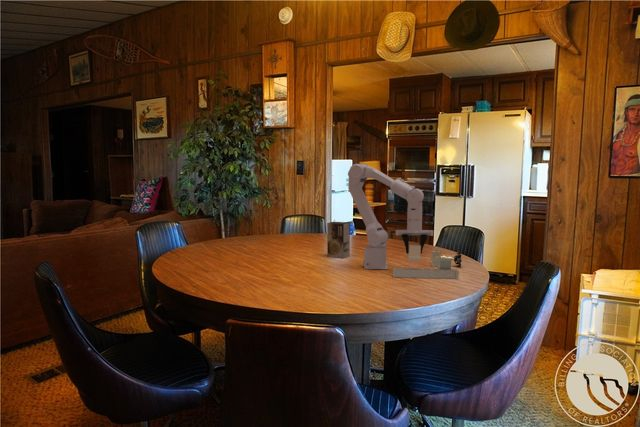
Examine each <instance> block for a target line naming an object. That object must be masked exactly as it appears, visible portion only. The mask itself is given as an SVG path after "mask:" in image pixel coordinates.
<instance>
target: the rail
mask: <svg viewBox="0 0 640 427" xmlns="http://www.w3.org/2000/svg"><path fill="white" fill-rule="evenodd" d="M459 274H460V271H459V269H456V268H452V261H451V260H450V259H446V258H438V267H437V268H431V267H430V268H422V267H421V268H419V267H393V268H392V278H393V279H396V278H405V279H406V278H407V279H408V278H411V279H413V278H414V279H415V278H416V279H455V280H459V276H460V275H459Z"/></svg>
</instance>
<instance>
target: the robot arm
mask: <svg viewBox="0 0 640 427" xmlns="http://www.w3.org/2000/svg"><path fill="white" fill-rule="evenodd" d="M347 176H348V184H347V185H348V191H349V193H350V196H351V197H352V200H353V202H354V203H355V206H356V208H357V210H358V212H359V214H360V216H361V219H362V221H363V223H364V225H365V233H366V237H367V238H366V239H367V243H368V245H366V246H364V248H363V249H364V250H363V255H364V256H363V268H364V269H365V270H388V269H389V268H388V265H387V250H388V249H387V244H386V243H387V242H388V240H389V234H388V231H386V230H385V229H384V228H383V225H382V224H381V223H379V221H378V219H377V217H376V215H375V213H374V211H373V209H372V207H371V205H370V203H369V201H368V198H367V196H366V194H365V192H364V190H363V187H364V184H365V182H366V181H367V179H374V180H376V181H378V182H380V183H382V184H384V185H386V186H387V187H389V188H390V192H392V193H394V194H395V195H397V196H398V197H401V198H402V199H404V200H406V202H407V215H406V216H407V219H406V223H407V224H406V229H395V235H396V236H401V238H402V240H403V241H402V242H403V244H404V246H405V253H406V255H407V254H409V246H408V245H409V243H410V237H409V236H419V237H418V238H419V244H420V245H421V255H422V253H423V249H424V246H425V244H426V242H427V240H428V236H432V237H433V236H434V230H433V229H430V230H428V229H423V200H424V198H425V195H424V192H423V191H422V190H421V189H420V188H415V186H414V185H410V184H408V183H407V182H405V180H404V179H403V178H401V179H399V178H396V179H393V178H392V177H390V176H389V175H387V174H385V173H383V172H382V171H380V170H379V169H377V168H375V167H373V166H371V165H370V166H369V165H368V164H366V163H362V164H361V163H354V164H351V166H350V168H349V170H348V172H347Z"/></svg>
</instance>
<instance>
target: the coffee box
mask: <svg viewBox="0 0 640 427" xmlns="http://www.w3.org/2000/svg"><path fill="white" fill-rule="evenodd" d="M326 224H327V225H326V228H327V229H326V230H327V231H326V236H327V240H326V241H327V242H326V243H327V245H326V246H327V247H326V248H327V257H329V258H337V259H338V258H340V259H346V258H348V257H350V255H351V253H350V251H351V250H350V249H351V247H350V246H351V245H350V244H351V243H350V242H351V241H350V239H351V238H350V237H351V236H350V235H351V234H350V232H351V222H347V221H346V222H344V221H330V222H327V223H326Z"/></svg>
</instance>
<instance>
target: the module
mask: <svg viewBox="0 0 640 427" xmlns="http://www.w3.org/2000/svg"><path fill="white" fill-rule="evenodd" d="M408 246H409V254H407V253H406V255H407V256H406V257H407V260H408V262H409V263H421V262H422V257H421V255H422V254H421V245H420V242H418V243H416V242H411V243H410V242H409V245H408Z"/></svg>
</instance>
